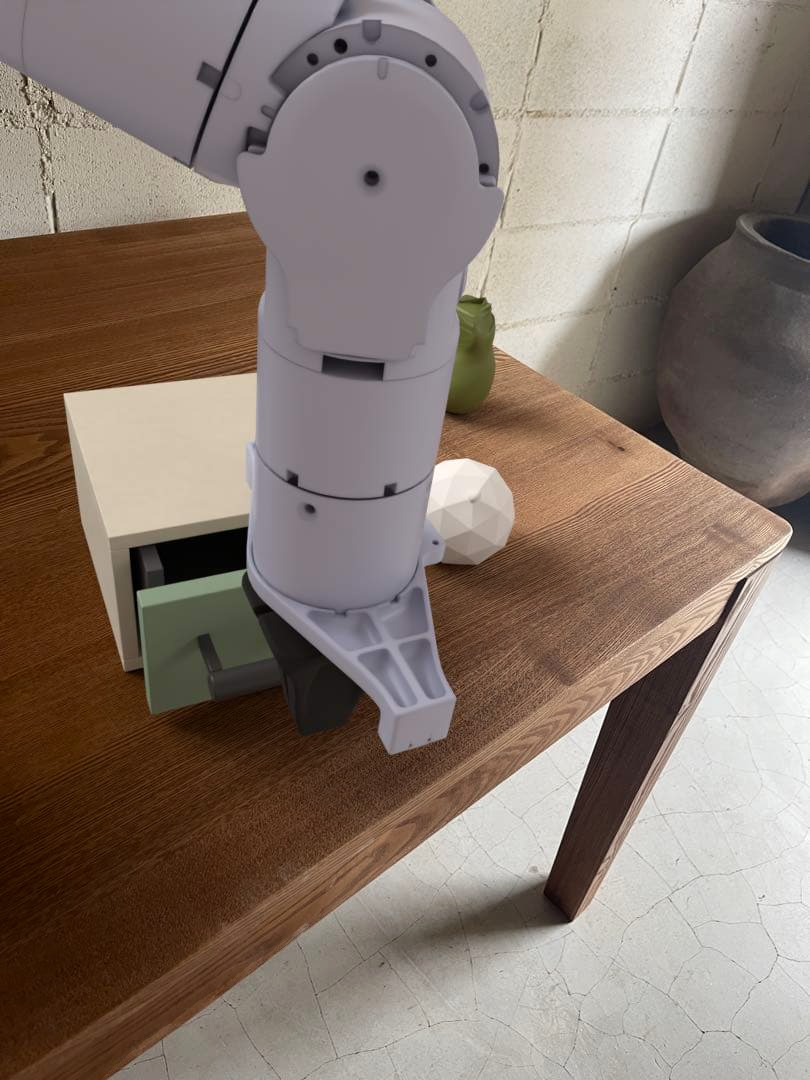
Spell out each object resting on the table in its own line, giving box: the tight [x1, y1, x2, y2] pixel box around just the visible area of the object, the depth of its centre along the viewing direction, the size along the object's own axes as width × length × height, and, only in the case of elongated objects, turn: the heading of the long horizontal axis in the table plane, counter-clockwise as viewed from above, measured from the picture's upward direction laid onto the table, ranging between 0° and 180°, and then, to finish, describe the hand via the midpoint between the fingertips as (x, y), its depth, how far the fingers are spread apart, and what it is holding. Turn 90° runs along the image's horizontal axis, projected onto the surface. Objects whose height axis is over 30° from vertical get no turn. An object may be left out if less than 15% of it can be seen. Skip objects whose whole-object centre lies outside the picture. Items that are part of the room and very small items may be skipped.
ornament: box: [426, 457, 516, 566], centre depth 57 cm, size 7×7×8 cm
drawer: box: [129, 526, 282, 716], centre depth 47 cm, size 16×11×8 cm, turn 25°
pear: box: [445, 294, 497, 414], centre depth 71 cm, size 6×5×10 cm
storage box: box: [63, 372, 257, 672], centre depth 52 cm, size 14×12×10 cm
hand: (318, 718), depth 36 cm, fingers closed
